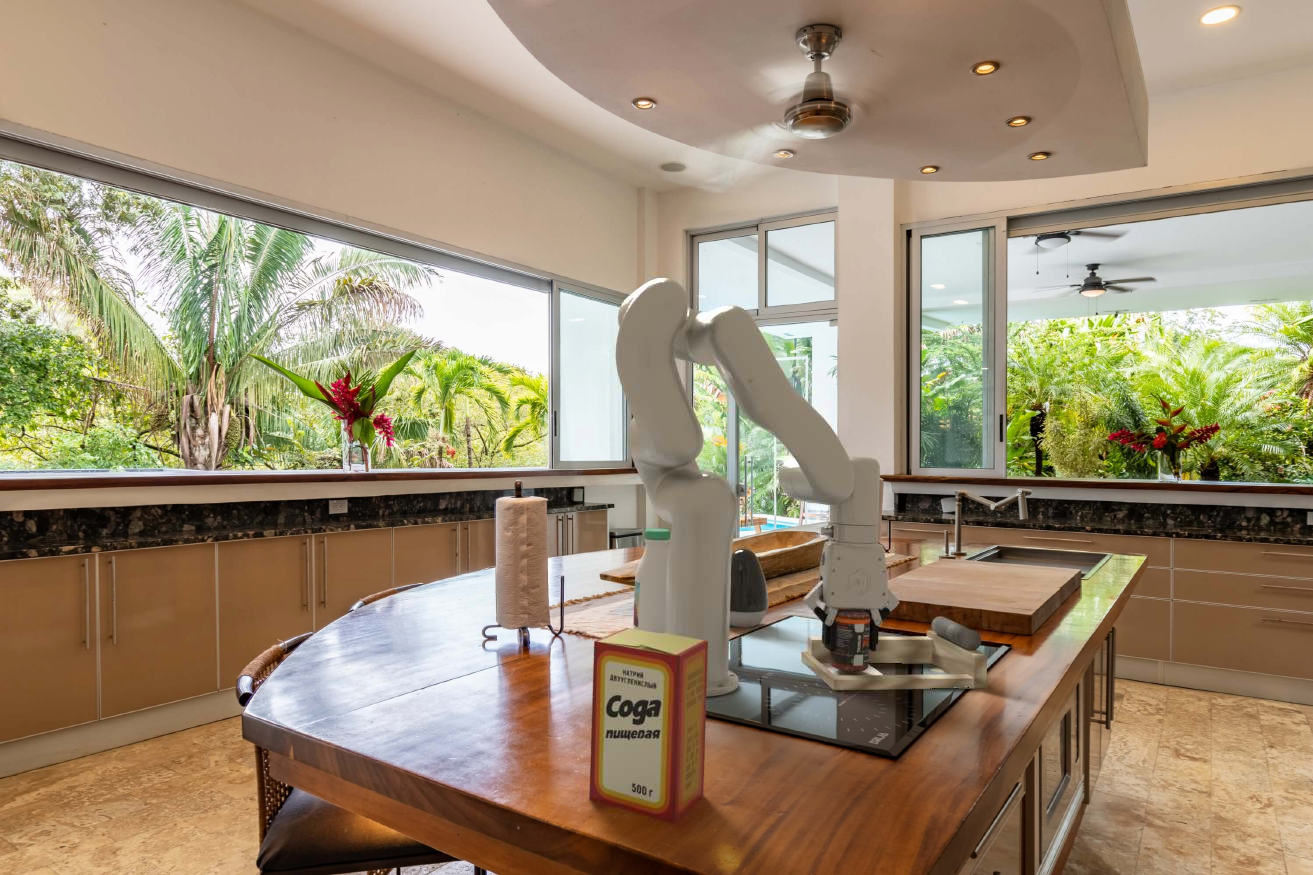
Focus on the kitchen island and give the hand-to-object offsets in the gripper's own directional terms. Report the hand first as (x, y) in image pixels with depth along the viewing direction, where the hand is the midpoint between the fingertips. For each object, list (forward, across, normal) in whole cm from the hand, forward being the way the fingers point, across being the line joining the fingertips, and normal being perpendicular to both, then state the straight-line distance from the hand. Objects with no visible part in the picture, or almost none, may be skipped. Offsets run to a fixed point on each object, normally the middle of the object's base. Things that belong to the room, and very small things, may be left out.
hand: (849, 647), depth 120 cm
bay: (+4, +7, 0) cm, 8 cm away
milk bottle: (+4, -28, +21) cm, 36 cm away
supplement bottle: (+3, 0, 0) cm, 3 cm away
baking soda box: (+5, -37, -39) cm, 54 cm away
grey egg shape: (+4, -9, +33) cm, 35 cm away
